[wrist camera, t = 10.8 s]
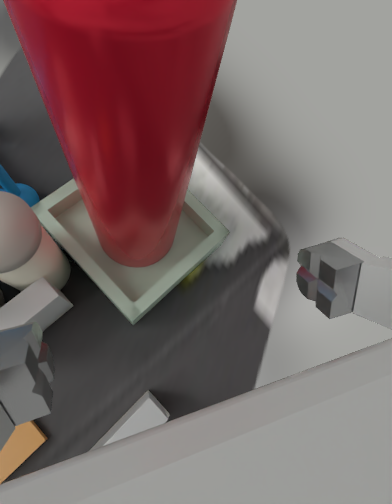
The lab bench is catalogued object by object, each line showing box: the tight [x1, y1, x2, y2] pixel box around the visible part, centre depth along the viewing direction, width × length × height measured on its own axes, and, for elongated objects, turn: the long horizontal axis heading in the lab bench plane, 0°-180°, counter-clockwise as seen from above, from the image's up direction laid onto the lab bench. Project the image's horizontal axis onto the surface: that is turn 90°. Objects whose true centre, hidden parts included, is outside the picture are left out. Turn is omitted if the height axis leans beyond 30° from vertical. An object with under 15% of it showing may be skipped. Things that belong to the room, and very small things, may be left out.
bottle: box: [3, 0, 237, 268], centre depth 13 cm, size 5×6×20 cm
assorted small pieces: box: [0, 179, 230, 484], centre depth 18 cm, size 16×20×8 cm
